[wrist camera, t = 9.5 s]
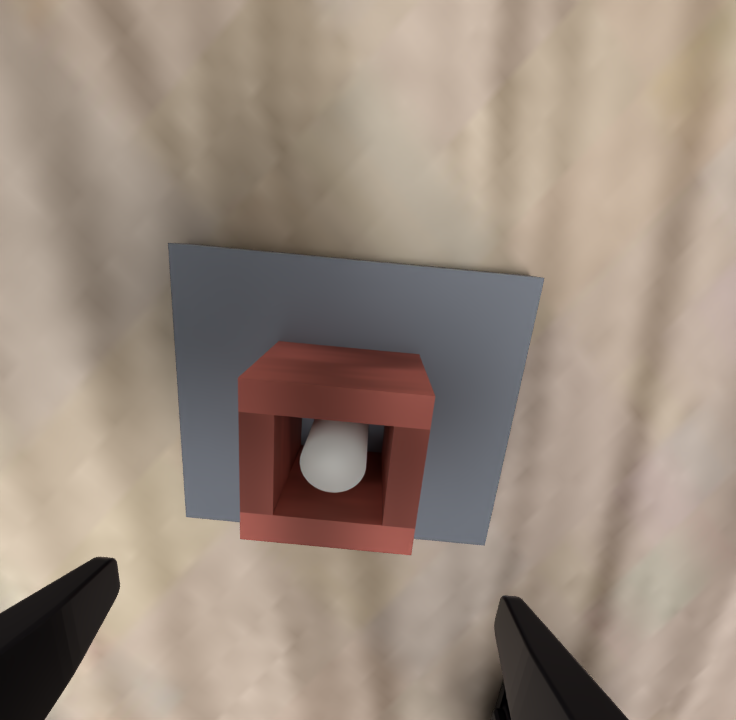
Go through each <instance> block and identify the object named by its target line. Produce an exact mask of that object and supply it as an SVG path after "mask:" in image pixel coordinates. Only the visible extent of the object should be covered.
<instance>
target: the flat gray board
mask: <svg viewBox="0 0 736 720" xmlns="http://www.w3.org/2000/svg"><path fill="white" fill-rule="evenodd" d="M168 249H169V264H170V279H171V294H172V309H173V324H174V340H175V355H176V370H177V385H178V400H179V415H180V430H181V446H182V461H183V476H184V491H185V506H186V517H191V518H202V519H212V520H223V521H233V522H240V489H239V424H238V377H239V376H240V375H241V374H243V373H244V372H245V371H246V370H247V369H248V368H249V367H250V366H252V365H253V364H254V363H255V362H256V361H257V360H258V359H259V358H260V357H262V356H263V355H264V354H265V353H266V352H267V351H268V350H269V349H270V348H272V347H273V346H274V345H275V344H276V343H277V342H278V341H283V342H294V343H304V344H315V345H326V346H336V347H347V348H358V349H369V350H379V351H390V352H401V353H411V354H419V355H420V358H421V360H422V363H423V365H424V368H425V371H426V373H427V376H428V378H429V381H430V384H431V386H432V389H433V391H434V394H435V402H434V409H433V415H432V422H431V428H430V435H429V442H428V448H427V455H426V461H425V468H424V474H423V481H422V487H421V494H420V500H419V507H418V513H417V520H416V527H415V533H414V539H422V540H433V541H443V542H454V543H464V544H475V545H485V541H486V537H487V532H488V528H489V523H490V519H491V514H492V510H493V505H494V501H495V497H496V492H497V488H498V483H499V479H500V474H501V470H502V465H503V461H504V456H505V452H506V447H507V443H508V438H509V434H510V430H511V425H512V421H513V416H514V412H515V407H516V403H517V398H518V394H519V389H520V385H521V380H522V376H523V371H524V367H525V362H526V358H527V354H528V349H529V345H530V340H531V336H532V331H533V327H534V322H535V318H536V313H537V309H538V304H539V300H540V295H541V291H542V287H543V282H544V278H541V277H535V276H527V275H517V274H506V273H495V272H484V271H474V270H463V269H452V268H441V267H431V266H420V265H409V264H398V263H388V262H377V261H366V260H355V259H345V258H334V257H323V256H313V255H302V254H291V253H280V252H270V251H259V250H248V249H237V248H227V247H216V246H205V245H194V244H180V243H168ZM383 435H384V425H374V424H363V423H353V422H342V421H331V420H321V419H310V418H302V432H301V445H304V448H303V450H302V453H301V456H300V468H301V471H302V474H303V476H304V477H305V479H306V480H307V481H308V482H309V483H310V484H311V485H313V486H314V487H316V488H318V489H320V490H322V491H326V492H334V493H336V492H343V491H347V490H349V489H351V488H353V487H354V486H356V485H357V484H358V483H359V482H360V481H361V479H362V478H363V476H364V474H365V471H366V460H367V451H368V452H379V453H382V444H383Z"/></svg>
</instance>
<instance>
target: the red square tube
mask: <svg viewBox="0 0 736 720" xmlns="http://www.w3.org/2000/svg"><path fill="white" fill-rule="evenodd" d="M434 402H435V394H434V391H433V389H432V386H431V384H430V381H429V378H428V376H427V373H426V371H425V368H424V365H423V363H422V360H421V358H420V355H419V354H411V353H401V352H390V351H379V350H369V349H358V348H347V347H336V346H326V345H315V344H304V343H294V342H283V341H278V342H277V343H276V344H275V345H274V346H273V347H272V348H270V349H269V350H268V351H267V352H266V353H265V354H264V355H263V356H262V357H260V358H259V359H258V360H257V361H256V362H255V363H254V364H253V365H252V366H250V367H249V368H248V369H247V370H246V371H245V372H244V373H243V374H241V375H240V376H239V377H238V424H239V489H240V539H246V540H256V541H267V542H277V543H288V544H298V545H309V546H320V547H330V548H341V549H351V550H362V551H372V552H383V553H393V554H404V555H411V553H412V546H413V540H414V533H415V527H416V520H417V513H418V507H419V500H420V494H421V487H422V481H423V474H424V468H425V461H426V455H427V448H428V442H429V435H430V428H431V422H432V415H433V409H434ZM302 418H310V419H321V420H331V421H342V422H353V423H363V424H374V425H384V435H383V444H382V453H379V452H368V451H367V460H366V471H365V474H364V476H363V478H362V479H361V481H360V482H359V483H358V484H357V485H356V486H354V487H353V488H351V489H349V490H347V491H343V492H336V493H334V492H326V491H322V490H320V489H318V488H316V487H314V486H313V485H311V484H310V483H309V482H308V481H307V480H306V479H305V477H304V476H303V474H302V471H301V468H300V456H301V453H302V450H303V448H304V445H301V432H302Z"/></svg>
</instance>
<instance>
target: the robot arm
mask: <svg viewBox="0 0 736 720" xmlns="http://www.w3.org/2000/svg"><path fill="white" fill-rule="evenodd" d="M119 589H120V581H119V573H118V566H117V561H116V560H115V559H114V558H108V557H96V558H93V559H91V560H90V561H88V562H86V563H85V564H83V565H81V566H79V567H78V568H76V569H74V570H73V571H71V572H69V573H68V574H66V575H64V576H63V577H61V578H59V579H57V580H56V581H54V582H52V583H51V584H49V585H47V586H46V587H44V588H42V589H41V590H39V591H37V592H35V593H34V594H32V595H30V596H29V597H27V598H25V599H24V600H22V601H20V602H19V603H17V604H15V605H13V606H12V607H10V608H8V609H7V610H5V611H3V612H2V613H0V720H45V718H46V717H47V715H48V714H49V712H50V711H51V709H52V708H53V706H54V705H55V703H56V702H57V700H58V698H59V697H60V695H61V694H62V692H63V691H64V689H65V688H66V686H67V685H68V683H69V681H70V680H71V678H72V677H73V675H74V673H75V672H76V670H77V668H78V667H79V665H80V663H81V661H82V660H83V658H84V656H85V654H86V652H87V650H88V649H89V647H90V645H91V643H92V641H93V639H94V638H95V636H96V634H97V632H98V630H99V628H100V627H101V625H102V623H103V621H104V619H105V618H106V616H107V614H108V612H109V610H110V608H111V607H112V605H113V603H114V601H115V599H116V597H117V595H118V593H119ZM494 629H495V636H496V642H497V647H498V653H499V658H500V663H501V669H502V674H503V680H504V683H503V684H502V687H501V690H500V694H499V698H498V701H497V705H496V708H495V709H494V711H493V714H492V717H491V720H629V719H628V718H627V717H626V716H625V715H624V714H623V713H622V711H621V710H620V709H619V708H618V707H617V706H616V705H615V704H614V702H613V701H612V700H611V699H610V698H609V697H608V696H607V695H606V693H605V692H604V691H603V690H602V689H601V688H600V687H599V685H598V684H597V683H596V682H595V681H594V680H593V679H592V678H591V676H590V675H589V674H588V673H587V672H586V671H585V670H584V669H583V667H582V666H581V665H580V664H579V663H578V662H577V661H576V660H575V658H574V657H573V656H572V655H571V654H570V653H569V652H568V650H567V649H566V648H565V647H564V646H563V645H562V644H561V643H560V641H559V640H558V639H557V638H556V637H555V636H554V635H553V634H552V632H551V631H550V630H549V629H548V628H547V627H546V626H545V624H544V623H543V622H542V621H541V620H540V619H539V618H538V617H537V615H536V614H535V613H534V612H533V611H532V610H531V609H530V608H529V606H528V605H527V604H526V603H525V602H524V601H523V600H522V599H521V598H519V597H516V596H502V597H501V599H500V602H499V606H498V610H497V614H496V618H495V623H494Z"/></svg>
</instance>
